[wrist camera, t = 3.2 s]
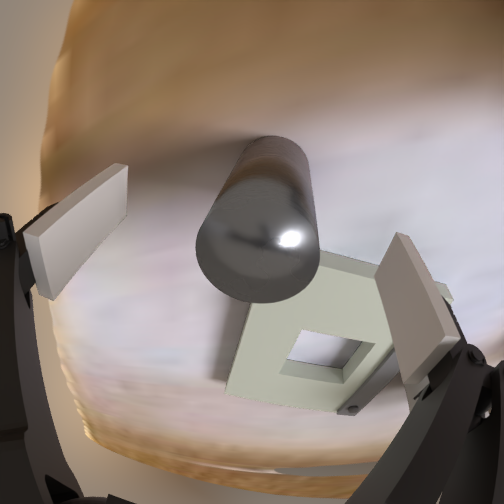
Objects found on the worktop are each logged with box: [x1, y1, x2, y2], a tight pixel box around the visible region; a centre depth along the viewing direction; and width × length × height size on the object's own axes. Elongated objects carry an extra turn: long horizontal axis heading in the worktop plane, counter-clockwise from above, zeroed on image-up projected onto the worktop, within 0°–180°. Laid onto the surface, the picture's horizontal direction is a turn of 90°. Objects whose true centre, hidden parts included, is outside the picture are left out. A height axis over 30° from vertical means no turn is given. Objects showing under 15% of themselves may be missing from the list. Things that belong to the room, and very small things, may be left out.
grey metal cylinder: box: [196, 136, 320, 304], centre depth 15 cm, size 5×5×10 cm
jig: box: [224, 250, 454, 416], centre depth 27 cm, size 20×16×3 cm
